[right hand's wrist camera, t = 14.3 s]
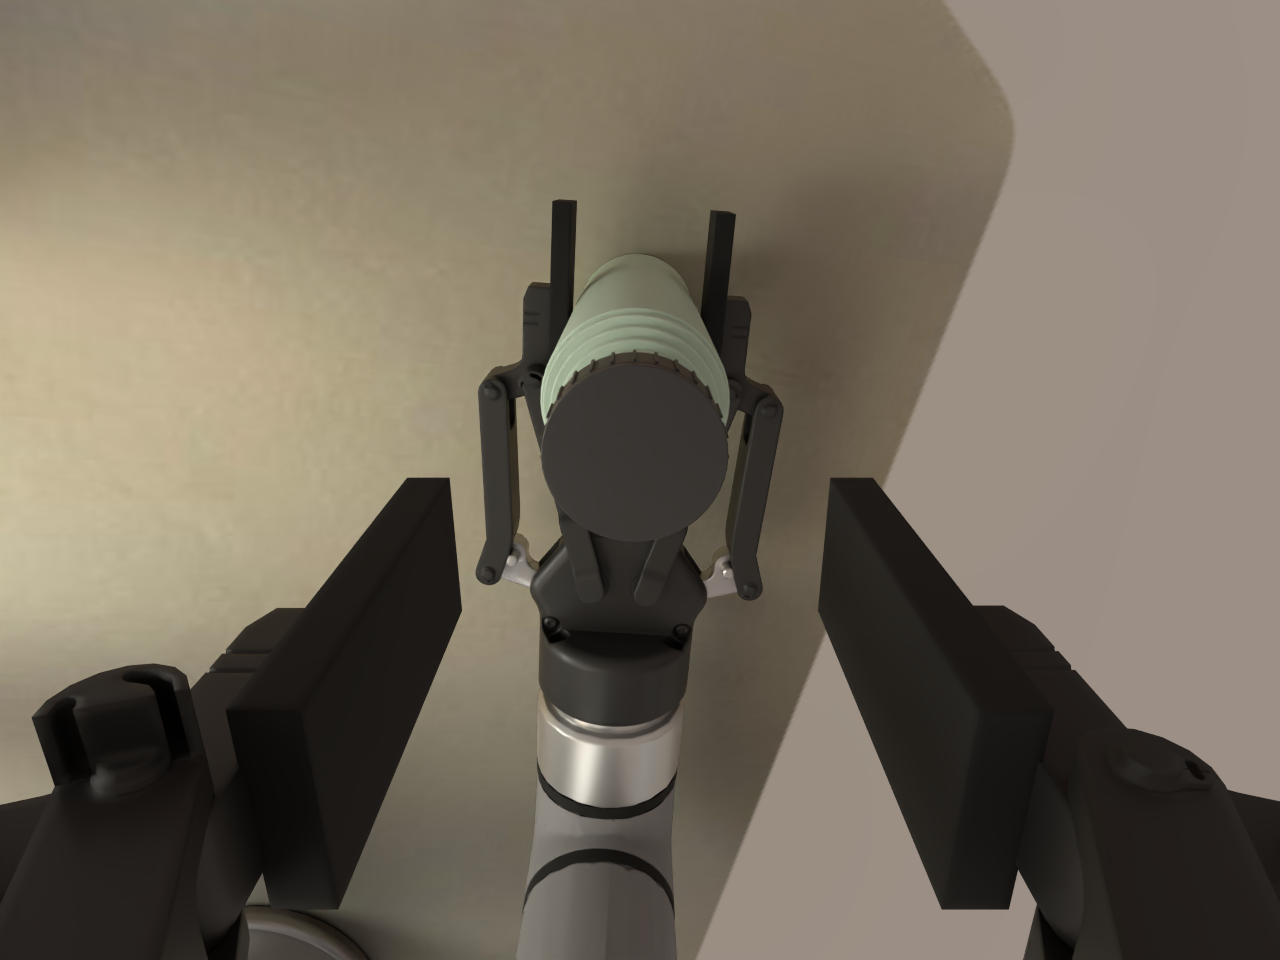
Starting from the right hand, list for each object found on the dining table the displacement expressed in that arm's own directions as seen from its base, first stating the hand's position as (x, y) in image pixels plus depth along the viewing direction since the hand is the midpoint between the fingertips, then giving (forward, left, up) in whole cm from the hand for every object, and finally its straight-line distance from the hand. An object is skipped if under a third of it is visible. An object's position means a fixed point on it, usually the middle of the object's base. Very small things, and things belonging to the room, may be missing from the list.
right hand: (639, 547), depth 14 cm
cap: (0, 0, -5) cm, 5 cm away
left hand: (+4, +4, -20) cm, 21 cm away
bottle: (0, 0, -27) cm, 27 cm away
